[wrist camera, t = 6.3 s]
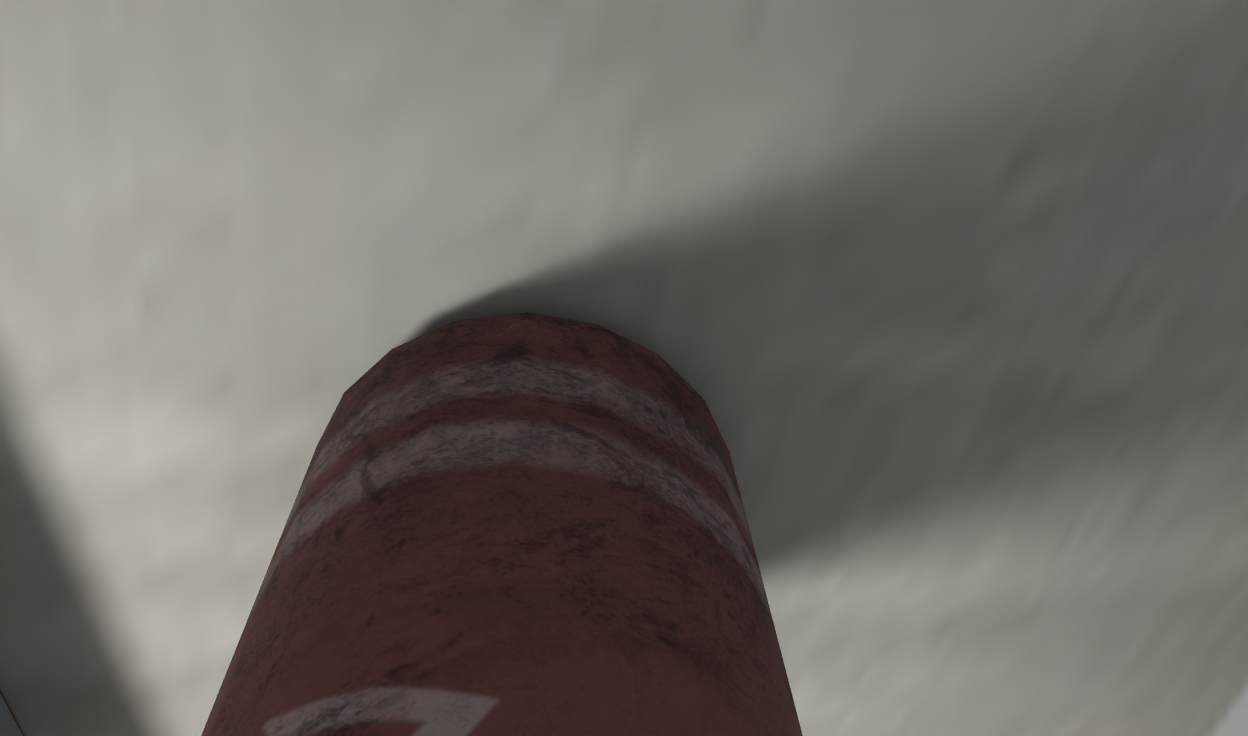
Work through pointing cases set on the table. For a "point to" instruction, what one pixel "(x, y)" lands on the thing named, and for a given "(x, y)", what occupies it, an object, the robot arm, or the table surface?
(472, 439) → the can
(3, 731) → the tray
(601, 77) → the table surface
